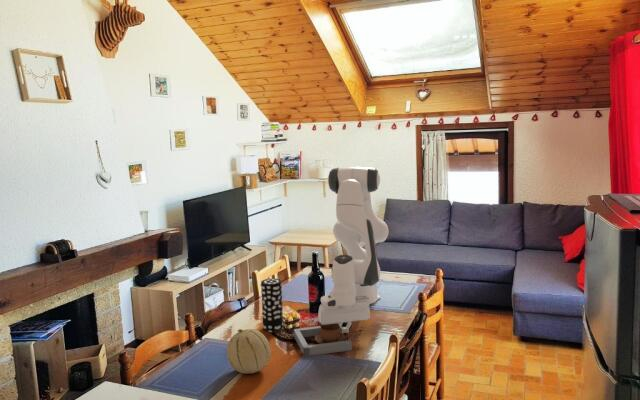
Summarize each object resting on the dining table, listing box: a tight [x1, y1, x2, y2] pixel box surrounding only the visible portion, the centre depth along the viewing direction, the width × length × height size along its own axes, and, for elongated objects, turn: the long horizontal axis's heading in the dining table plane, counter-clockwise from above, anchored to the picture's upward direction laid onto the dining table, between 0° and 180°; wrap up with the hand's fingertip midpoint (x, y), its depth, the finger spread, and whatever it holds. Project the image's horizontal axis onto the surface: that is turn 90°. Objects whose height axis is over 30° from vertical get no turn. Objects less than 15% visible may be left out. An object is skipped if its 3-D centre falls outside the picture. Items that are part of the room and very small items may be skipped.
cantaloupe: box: [226, 328, 272, 375], centre depth 179 cm, size 15×15×15 cm
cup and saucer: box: [314, 323, 347, 344], centre depth 202 cm, size 12×12×6 cm
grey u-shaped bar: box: [293, 325, 353, 357], centre depth 201 cm, size 19×18×3 cm
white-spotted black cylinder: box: [260, 278, 284, 333], centre depth 216 cm, size 8×8×20 cm
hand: (344, 332), depth 203 cm, fingers closed
